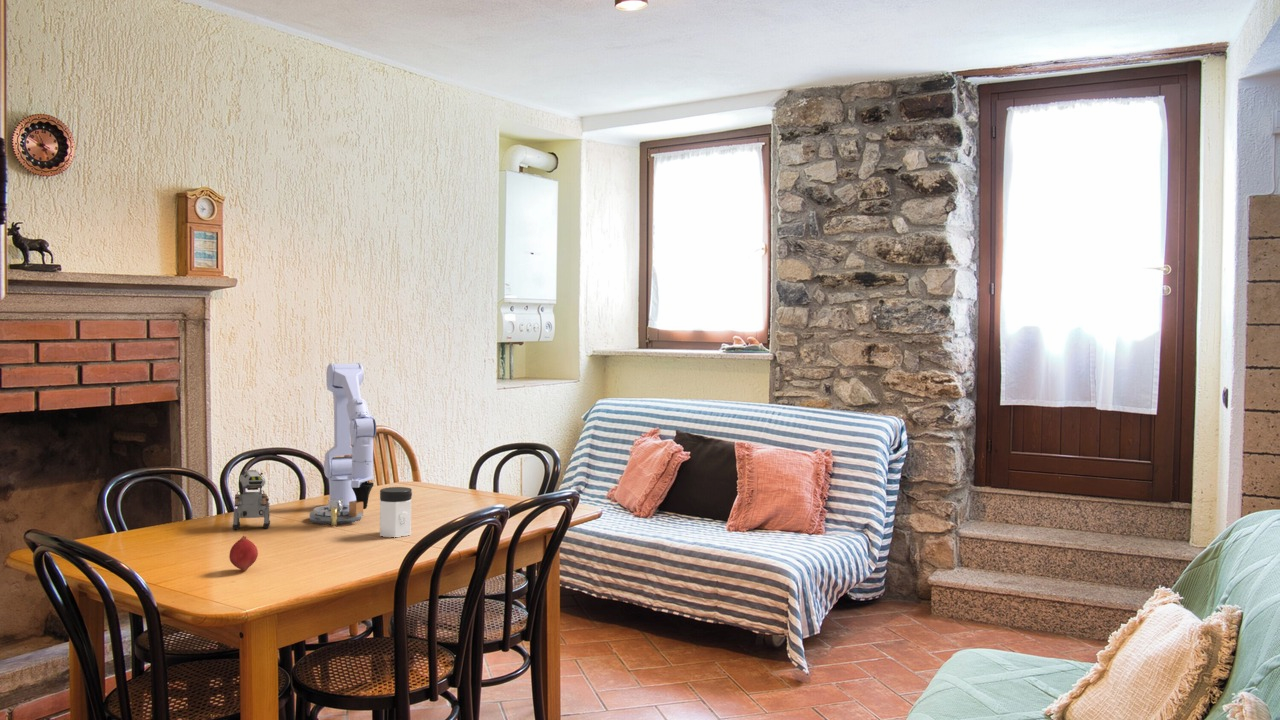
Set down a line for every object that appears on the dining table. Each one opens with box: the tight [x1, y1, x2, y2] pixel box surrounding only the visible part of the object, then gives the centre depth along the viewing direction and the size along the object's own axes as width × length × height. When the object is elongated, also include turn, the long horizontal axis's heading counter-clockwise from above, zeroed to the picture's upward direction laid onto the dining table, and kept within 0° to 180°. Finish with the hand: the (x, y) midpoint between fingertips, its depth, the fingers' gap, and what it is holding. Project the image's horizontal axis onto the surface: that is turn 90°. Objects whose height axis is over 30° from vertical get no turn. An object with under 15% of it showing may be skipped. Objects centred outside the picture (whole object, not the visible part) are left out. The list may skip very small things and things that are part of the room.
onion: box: [228, 534, 259, 572], centre depth 203 cm, size 6×6×8 cm
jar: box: [379, 486, 413, 539], centre depth 242 cm, size 9×8×12 cm
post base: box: [308, 499, 362, 525], centre depth 259 cm, size 14×14×6 cm
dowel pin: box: [330, 508, 338, 527], centre depth 251 cm, size 2×2×5 cm
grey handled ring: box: [312, 500, 364, 517], centre depth 258 cm, size 16×12×4 cm
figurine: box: [232, 469, 271, 531], centre depth 248 cm, size 9×12×15 cm
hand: (362, 508), depth 257 cm, fingers closed, pressing on grey handled ring
